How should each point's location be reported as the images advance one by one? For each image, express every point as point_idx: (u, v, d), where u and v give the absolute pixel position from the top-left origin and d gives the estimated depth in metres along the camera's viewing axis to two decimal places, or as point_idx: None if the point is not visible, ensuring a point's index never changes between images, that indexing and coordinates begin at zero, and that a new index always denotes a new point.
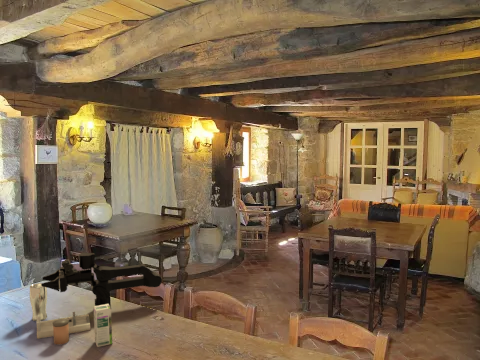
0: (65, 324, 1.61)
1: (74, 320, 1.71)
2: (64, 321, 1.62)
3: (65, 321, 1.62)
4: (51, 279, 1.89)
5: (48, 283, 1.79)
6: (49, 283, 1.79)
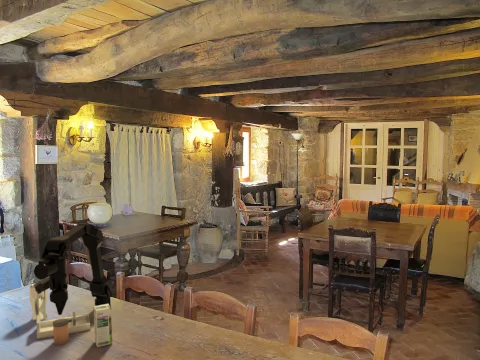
0: (65, 324, 1.61)
1: (74, 320, 1.71)
2: (64, 321, 1.62)
3: (65, 321, 1.62)
4: None
5: (58, 308, 1.56)
6: (58, 307, 1.56)
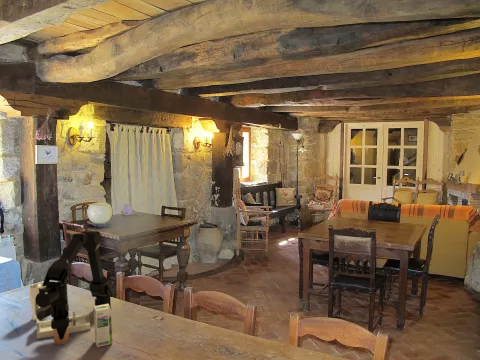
0: None
1: (74, 320, 1.71)
2: None
3: None
4: None
5: (59, 333, 1.58)
6: (59, 332, 1.58)
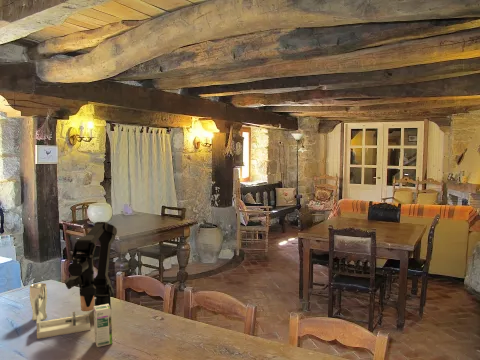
0: None
1: (74, 320, 1.71)
2: None
3: None
4: None
5: (86, 301, 1.73)
6: (86, 300, 1.72)
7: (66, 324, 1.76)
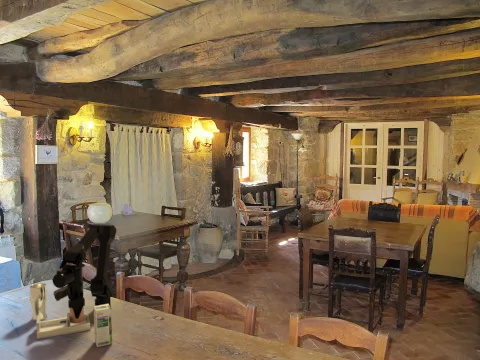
0: None
1: (68, 321, 1.70)
2: None
3: None
4: None
5: (75, 313, 1.71)
6: (75, 312, 1.71)
7: (66, 324, 1.76)
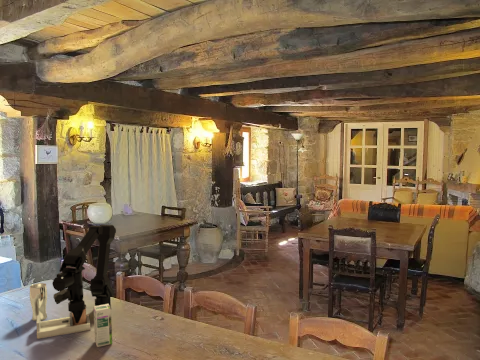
0: None
1: (71, 321, 1.71)
2: None
3: None
4: None
5: (75, 317, 1.70)
6: (75, 316, 1.70)
7: (66, 324, 1.76)
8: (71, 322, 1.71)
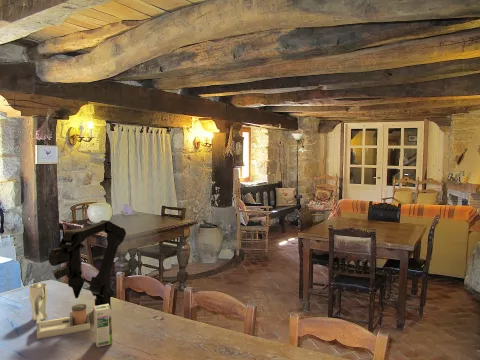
0: (83, 309, 1.74)
1: (71, 320, 1.71)
2: (82, 306, 1.76)
3: (83, 306, 1.75)
4: None
5: (75, 292, 1.75)
6: (75, 291, 1.75)
7: (66, 324, 1.76)
8: (71, 322, 1.71)
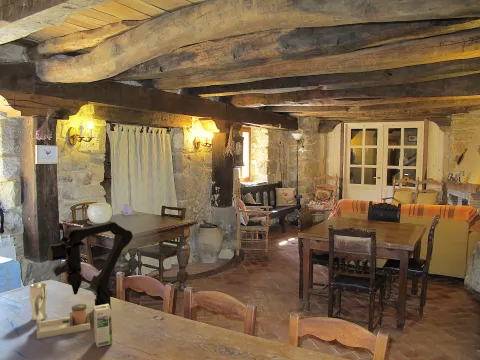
0: (83, 309, 1.74)
1: (71, 320, 1.71)
2: (82, 306, 1.76)
3: (83, 306, 1.75)
4: None
5: (74, 289, 1.78)
6: (74, 288, 1.78)
7: (66, 324, 1.76)
8: (71, 322, 1.71)
